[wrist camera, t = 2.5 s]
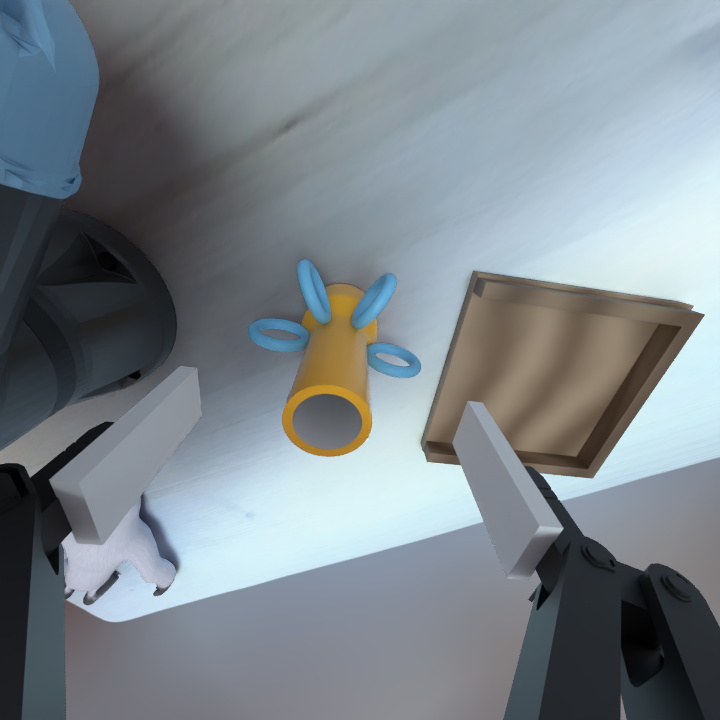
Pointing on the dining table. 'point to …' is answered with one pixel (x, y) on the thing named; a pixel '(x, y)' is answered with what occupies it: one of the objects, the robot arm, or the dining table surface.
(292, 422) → the cylinder
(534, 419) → the open-sided tray
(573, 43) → the dining table surface
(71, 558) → the yeti figurine
